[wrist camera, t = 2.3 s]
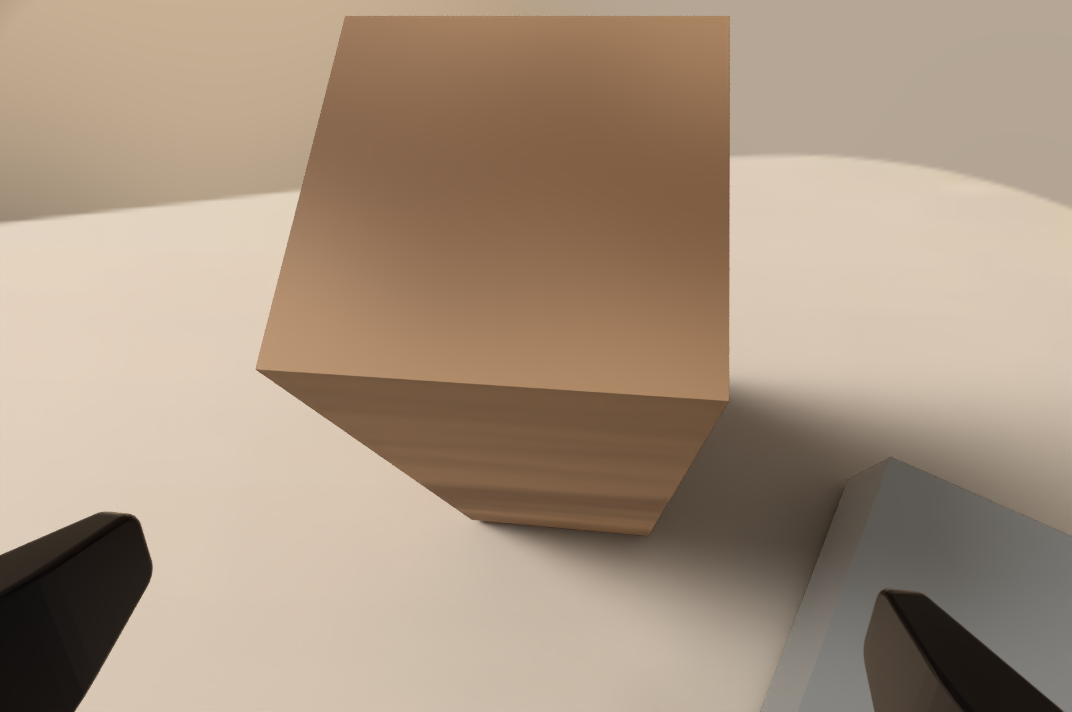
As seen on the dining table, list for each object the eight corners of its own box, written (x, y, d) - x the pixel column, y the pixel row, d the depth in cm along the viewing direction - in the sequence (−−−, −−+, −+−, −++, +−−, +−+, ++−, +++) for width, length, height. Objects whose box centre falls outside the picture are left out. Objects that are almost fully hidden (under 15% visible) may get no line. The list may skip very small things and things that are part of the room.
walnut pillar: (648, 536, 19) (729, 401, 7) (472, 519, 19) (255, 369, 7) (655, 366, 21) (729, 16, 8) (493, 356, 21) (345, 16, 9)
